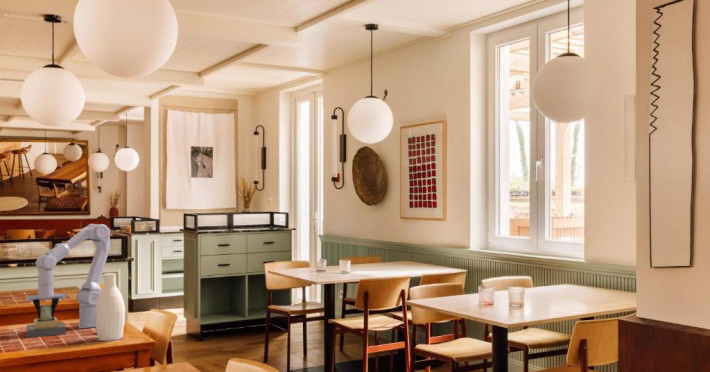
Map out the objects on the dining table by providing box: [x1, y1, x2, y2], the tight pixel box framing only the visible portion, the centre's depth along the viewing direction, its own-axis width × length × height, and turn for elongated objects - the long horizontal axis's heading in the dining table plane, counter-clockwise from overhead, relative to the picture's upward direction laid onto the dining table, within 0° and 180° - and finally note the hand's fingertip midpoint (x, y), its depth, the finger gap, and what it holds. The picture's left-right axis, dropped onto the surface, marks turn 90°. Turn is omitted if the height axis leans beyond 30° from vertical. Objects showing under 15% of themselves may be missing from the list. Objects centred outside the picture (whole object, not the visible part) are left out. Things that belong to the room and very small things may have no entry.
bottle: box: [95, 272, 126, 342], centre depth 267 cm, size 11×11×25 cm
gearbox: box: [26, 316, 67, 338], centre depth 278 cm, size 14×12×6 cm
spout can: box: [39, 304, 53, 322], centre depth 278 cm, size 4×6×7 cm
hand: (45, 317), depth 279 cm, fingers closed on spout can, 4 cm apart
